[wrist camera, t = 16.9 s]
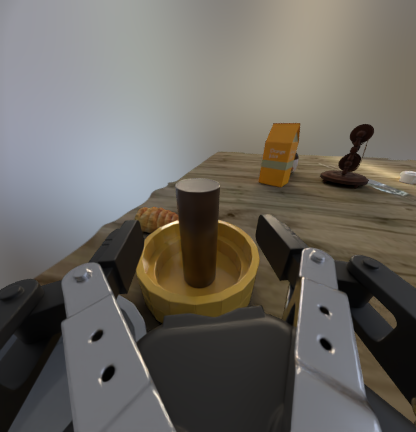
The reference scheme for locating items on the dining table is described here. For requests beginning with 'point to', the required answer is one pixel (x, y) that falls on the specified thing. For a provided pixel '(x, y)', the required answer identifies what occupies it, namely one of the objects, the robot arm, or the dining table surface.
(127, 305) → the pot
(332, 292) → the robot arm
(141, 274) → the bowl
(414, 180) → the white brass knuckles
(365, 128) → the brown wooden sculpture
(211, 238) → the brown cylinder
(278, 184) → the orange juice
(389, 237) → the dining table surface
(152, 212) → the pastry
